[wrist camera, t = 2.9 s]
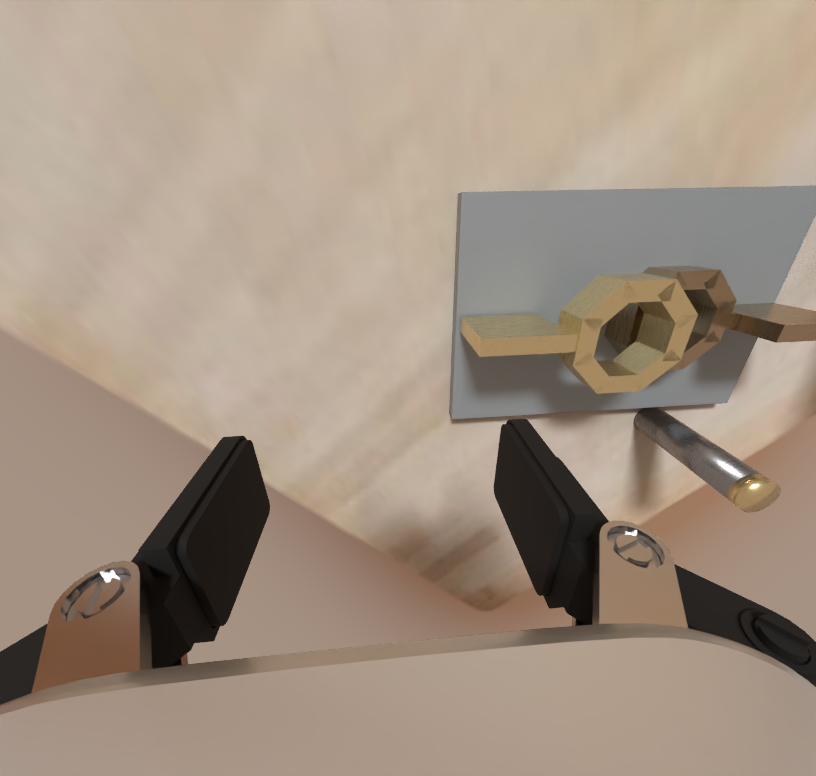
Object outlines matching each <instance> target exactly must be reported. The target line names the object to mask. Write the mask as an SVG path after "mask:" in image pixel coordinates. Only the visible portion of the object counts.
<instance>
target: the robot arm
mask: <svg viewBox="0 0 816 776" xmlns="http://www.w3.org/2000/svg"><path fill="white" fill-rule="evenodd" d="M494 494H495V497H496V500H497V502H498V504H499V507H500V509H501V511H502V514H503V516H504V518H505V521H506V523H507V525H508V528H509V530H510V532H511V535H512V537H513V539H514V542H515V544H516V546H517V549H518V551H519V553H520V556H521V558H522V560H523V563H524V565H525V567H526V570H527V572H528V574H529V577H530V579H531V581H532V584H533V586H534V588H535V590H536V592H537V594H538V595H539V596H541V595H543V596H544V598H545V600H546V602H547V605H548V607H549V608H559V607H564V608H565V610H566V612H567V613H568V614H569V615H571V616H572V626H570V627H556V628H543V629H533V630H522V631H511V632H501V633H490V634H479V635H469V636H458V637H448V638H437V639H427V640H418V641H408V642H397V643H387V644H378V645H367V646H358V647H348V648H338V649H328V650H318V651H309V652H299V653H291V654H281V655H271V656H262V657H252V658H243V659H233V660H224V661H214V662H205V663H196V664H188V658H187V653H188V652H189V651H190V650H191V649H192V646H193V644H194V643H200V642H208V641H209V642H210V641H214V640H215V637H216V635H217V632H218V630H219V627H220V626H223V625H225V624H226V622H227V620H228V618H229V616H230V614H231V611H232V608H233V606H234V603H235V601H236V598H237V595H238V593H239V590H240V587H241V585H242V582H243V580H244V577H245V575H246V572H247V570H248V567H249V564H250V561H251V559H252V557H253V554H254V551H255V549H256V546H257V544H258V541H259V538H260V536H261V533H262V531H263V528H264V525H265V523H266V520H267V518H268V515H269V511H270V504H269V499H268V496H267V492H266V489H265V485H264V482H263V478H262V475H261V471H260V468H259V464H258V461H257V457H256V454H255V450H254V446H253V443H252V441H251V440H247V439H246V438H245V437H244V436H233V437H223V438H222V439H221V440H220V442H219V443H218V444H217V446H216V447H215V448H214V450H213V451H212V452H211V454H210V455H209V456H208V458H207V459H206V460H205V462H204V463H203V464H202V466H201V467H200V468H199V470H198V471H197V472H196V474H195V475H194V476H193V478H192V479H191V480H190V482H189V483H188V485H187V486H186V487H185V489H184V490H183V491H182V493H181V494H180V495H179V497H178V498H177V499H176V501H175V502H174V503H173V505H172V506H171V507H170V509H169V510H168V511H167V513H166V514H165V515H164V517H163V518H162V519H161V521H160V522H159V523H158V525H157V526H156V527H155V529H154V530H153V531H152V533H151V534H150V536H149V537H148V538H147V539H146V541H145V542H144V544H143V545H142V546H141V548H140V549H139V552H138V553H137V554H136V556H135V557H134V558H133V560H132V561H131V562H128V561H119V562H112V563H110V564H107V565H104V566H101V567H99V568H97V569H95V570H93V571H91V572H89V573H88V574H86V575H84V576H83V577H82V578H80V579H79V580H77V581H76V582H74V584H72V585H71V586H70V587H69V588H68V589H67V590H66V591H65V592H64V593H63V594H62V595H61V596H60V598H59V599H58V600H57V601H56V603H55V604H54V607H53V609H52V611H51V613H50V617H49V621H48V624H46V625H44V626H43V627H41V628H39V629H38V630H36V631H34V632H33V633H31V634H29V635H28V636H26V637H24V638H23V639H21V640H19V641H18V642H16V643H14V644H13V645H11V646H9V647H8V648H6V649H4V650H3V651H1V652H0V776H816V642H815V641H814V640H813V639H812V638H811V637H810V636H809V635H808V634H807V633H806V632H805V631H803V630H802V629H801V628H799V627H798V626H796V625H795V624H793V623H792V622H791V621H790V620H788V619H786V618H784V617H782V616H781V615H779V614H777V613H775V612H773V611H772V610H769V609H767V608H765V607H763V606H761V605H759V604H757V603H755V602H753V601H751V600H748V599H746V598H744V597H742V596H740V595H738V594H736V593H733V592H732V591H730V590H727V589H725V588H723V587H721V586H719V585H717V584H715V583H713V582H711V581H709V580H707V579H704V578H702V577H700V576H698V575H696V574H694V573H692V572H690V571H687V570H686V569H683V568H681V567H679V566H677V565H675V564H674V561H673V557H672V555H671V552H670V550H669V549H668V547H666V545H665V544H664V542H663V541H662V540H660V539H659V538H658V537H657V536H656V535H654V534H653V533H652V532H650V531H648V530H647V529H645V528H643V527H641V526H639V525H636V524H634V523H630V522H625V521H611V522H609V521H608V520H607V518H606V517H605V516H604V515H603V513H602V512H601V511H600V509H599V508H598V507H597V506H596V504H595V503H594V502H593V501H592V499H591V498H590V497H589V495H588V494H587V493H586V492H585V490H584V489H583V488H582V486H581V485H580V484H579V483H578V481H577V480H576V479H575V477H574V476H573V475H572V474H571V472H570V471H569V470H568V468H567V467H566V466H565V465H564V463H563V462H562V461H561V460H560V459H559V458H557V457H556V456H555V455H554V454H553V452H552V451H551V450H550V449H549V447H548V446H547V445H546V443H545V442H544V441H543V439H542V438H541V437H540V436H539V434H538V433H537V432H536V430H535V429H534V428H533V426H532V425H531V424H530V423H529V421H528V420H527V419H512V420H508V421H507V423H506V424H503V425H502V427H501V433H500V441H499V449H498V457H497V465H496V473H495V481H494Z"/></svg>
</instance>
